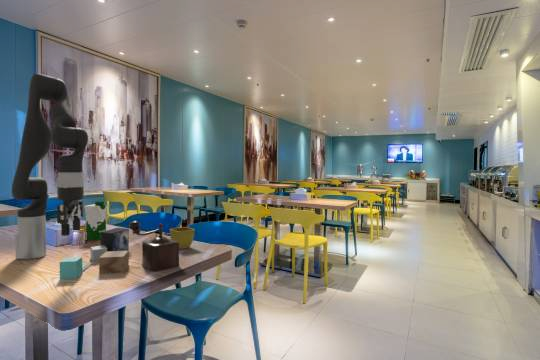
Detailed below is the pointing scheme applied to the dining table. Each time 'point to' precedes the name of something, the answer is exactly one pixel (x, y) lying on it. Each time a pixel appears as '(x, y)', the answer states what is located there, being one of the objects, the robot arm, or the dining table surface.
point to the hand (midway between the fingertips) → (71, 232)
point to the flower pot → (182, 236)
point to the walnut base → (113, 262)
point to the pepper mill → (157, 250)
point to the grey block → (97, 252)
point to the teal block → (71, 268)
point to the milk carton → (95, 220)
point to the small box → (115, 239)
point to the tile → (85, 266)
